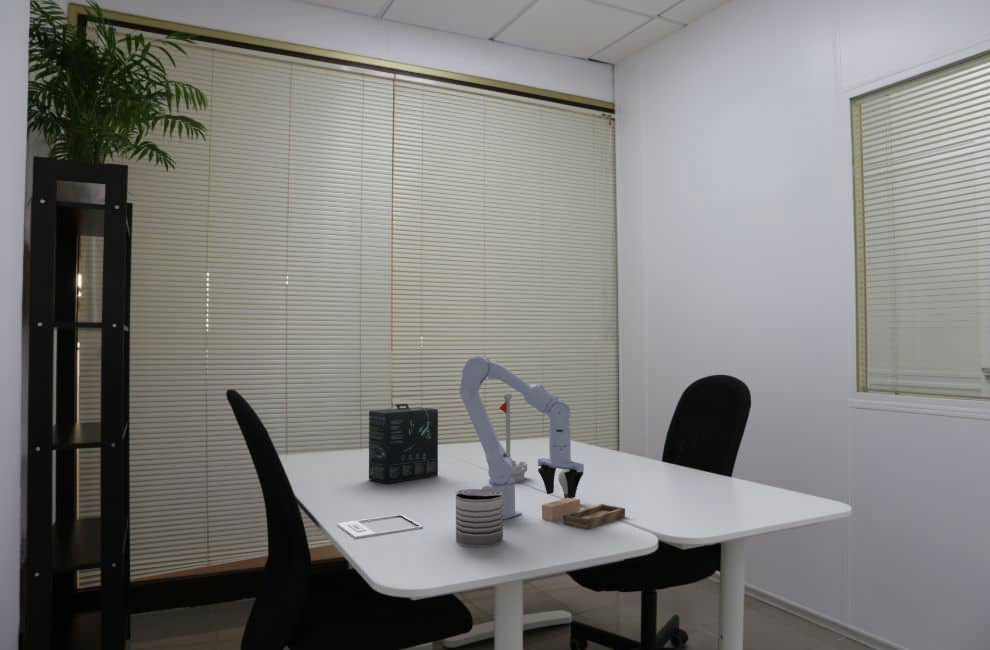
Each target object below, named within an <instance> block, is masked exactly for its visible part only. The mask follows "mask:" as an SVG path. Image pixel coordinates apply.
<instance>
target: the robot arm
mask: <svg viewBox="0 0 990 650" xmlns="http://www.w3.org/2000/svg"><path fill="white" fill-rule="evenodd" d="M461 372H462V373H461V381H460V386H459V394H460V398H461V400H462V402H463V404H464V407H465V409H466V411H467V413H468V416H469V419H470V420H471V423H472V425H473V428H474V430H475V432H476V434H477V435H476V436H478V439H479V441H480V444H481V446H482V448H483V451H484V454H485V455H484V456H485V460H486V463H487V466H488V471H487V472H488V476H489V479H488V482H487V484H486V485H484V486H482V488H481V489H483V490H494V491H500V492H503V493H502V500H503V520H505V519H510V518H512V517H516V516H521V515H523V512H521V511H517V510H516V482H515V480H514V479H513V478H512V476H511V475H512V473H513V471H514V462H513V459H512V457H511V456H510V457H509V456H508V455H507V454H506V449H505V448H504V447H503V445H502V443H501V442H500V439H499V437H498V435H497V433H496V430H495V428H494V425H493V424H492V421H491V418H490V417H489V414H488V412H487V409H486V407H485V405H484V403H483V401H482V397H481V395H480V393H479V391H480V389H481V387H482V385H483V383H484V381H485V380H486V379H488V380H499V381H501V382H503V383H504V384H505V385H507V386H509V387H510V388H512V389H513V390H515V391H517V392H519V393H520V394H522V395H523V398H524V402H525V403H527V404H529V405H530V406H531V407H533V408H534V409H536V410H537V411H539V412H540V413H541V414H543V415H547V416H548V418H549V428H548V434H549V435H548V437H549V438H548V439H549V440H548V441H549V443H548V444H549V447H548V448H549V458H544V457H541V458H537V466H538V467H540V468H538V469H537V471H538V474H539V475H540V477H541V480H542V481H543V484H544V488H545V493H546V494H547V495H550V494H554V493H555V492H554V491H555V490H554V489H555V476H556V471H557V469H559V470H563V469H565V470H570V471H568V472H564V474H565V477H566V480H567V486H568V497H569V498H576V496H577V490H578V488H579V487H578V486H579V483H580V481H581V478H582V477H583V475H584V471H585V469H584V468H585V467H584V466H585V465H584V463H581V462H580V463H579V462H576V461H573V460H572V459H571V456H572V453H571V450H572V449H571V428H570V425H571V423H570V422H571V421H570V417H571V412H570V411H571V409H570V406H569V404H568V403H567V402H565V400H563V399H560V396H558V395H554V394H553V393H550V392H549V391H548V390H546V389H545V385H543V384H540V385H539V384H538V383H537V384H535V383H534V384H529V383H528V382H526V381H524V380H523V379H522V378H520V377H519V376H517V375H516V374H515V373H513V372H512V371H510V370H509V369H508V368H506V367H505V366H503V365H502V364H500V363H498V362H496V361H493V360H490V359H489V358H488V357H486V356H485V355H477V356H473V357H469V359H468V360H467V361H466V363H465V365H464V366H463V368H462V370H461Z"/></svg>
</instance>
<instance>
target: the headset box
mask: <svg viewBox="0 0 990 650" xmlns="http://www.w3.org/2000/svg"><path fill="white" fill-rule="evenodd" d="M395 406H396V408H389V409H388V408H386V409H371V410H368V418H369V419H368V480H370V479H371V481H375V482H377V483H378V482H379V483H382V484H390V483H398V482H404V481H411V480H417V479H423V478H425V479H426V478H430V477H436V476H437V477H438V476H439V409H438V408H428V407H420V406H419V407H410V406H409V405H408V403H396V404H395Z"/></svg>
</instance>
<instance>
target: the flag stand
mask: <svg viewBox="0 0 990 650" xmlns="http://www.w3.org/2000/svg"><path fill="white" fill-rule="evenodd" d="M512 398H513V395H512V394H511V392H509V391H506V392H505V393H504V394H503V399H504V401H505V402H504V403H502V404H501V406H500V407H498V409H500V411H502V412H504V413H505V452H506V454H507V455H508V456H509V457H510V458H511V399H512ZM512 460H513V459H512ZM513 462H514V471H513V473H512V475H511V476H512V478H513V479H514V480H515V483H517V482H522V481H524V480H525V474H526V472H527V471H528V463H526V461H521V460H520V461H519V463H516V462H517V461H516V460H513Z"/></svg>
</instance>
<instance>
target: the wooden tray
mask: <svg viewBox="0 0 990 650" xmlns="http://www.w3.org/2000/svg"><path fill="white" fill-rule="evenodd" d="M624 516H625V517H626V508H624V507H619V506H614V505H610V504H604V503H601V504H598V505H594V506H591V507H588V508H585V509H580V511H577V512H573V513H570V514H567V515H563V518H562V519H563V521H562V524H563V525H565V526H569V527H575V528H578V529H583V530H589V529H592V528H595V527H598V526H600V525H603V524H607V523H611V522H613V521H616V520H620V519H623V518H625V517H624ZM622 517H623V518H622Z"/></svg>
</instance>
